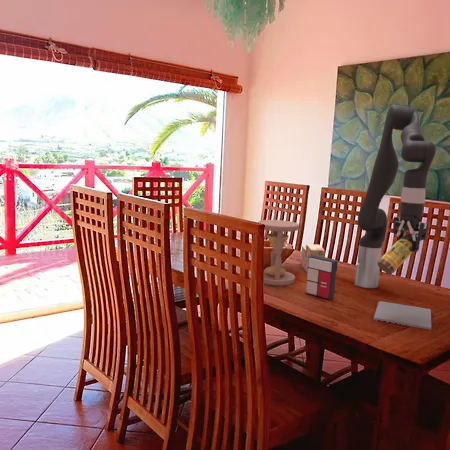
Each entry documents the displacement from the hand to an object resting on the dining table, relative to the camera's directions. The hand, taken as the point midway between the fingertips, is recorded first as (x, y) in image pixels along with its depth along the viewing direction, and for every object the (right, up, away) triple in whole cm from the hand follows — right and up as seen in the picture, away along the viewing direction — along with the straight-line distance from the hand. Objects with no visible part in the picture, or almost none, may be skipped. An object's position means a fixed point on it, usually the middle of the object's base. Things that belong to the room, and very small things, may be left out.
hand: (407, 249), depth 159 cm
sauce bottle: (-9, -7, -2) cm, 11 cm away
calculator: (-25, -20, +23) cm, 39 cm away
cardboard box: (-21, -13, +62) cm, 67 cm away
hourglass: (-41, -16, +42) cm, 61 cm away
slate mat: (0, -23, +4) cm, 24 cm away
